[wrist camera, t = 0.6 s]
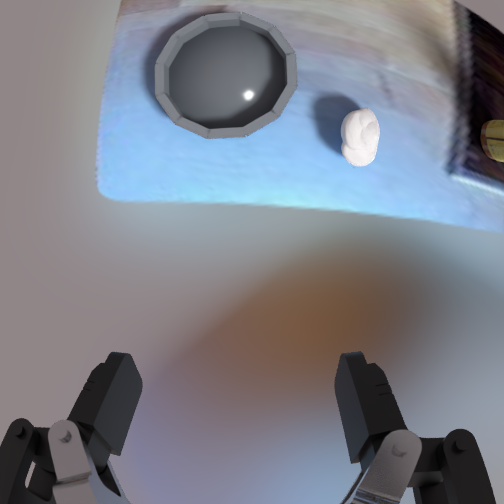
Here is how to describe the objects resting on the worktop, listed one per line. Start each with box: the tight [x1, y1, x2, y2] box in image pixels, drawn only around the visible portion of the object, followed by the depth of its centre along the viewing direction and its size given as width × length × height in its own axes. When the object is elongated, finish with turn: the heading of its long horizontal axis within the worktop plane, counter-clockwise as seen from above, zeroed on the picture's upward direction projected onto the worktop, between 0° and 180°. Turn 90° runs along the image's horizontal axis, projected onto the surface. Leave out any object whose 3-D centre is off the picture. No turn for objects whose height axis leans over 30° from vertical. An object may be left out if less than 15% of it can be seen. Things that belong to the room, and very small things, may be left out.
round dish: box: [155, 12, 297, 139], centre depth 25 cm, size 15×15×3 cm
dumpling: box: [341, 108, 380, 168], centre depth 27 cm, size 7×5×4 cm
